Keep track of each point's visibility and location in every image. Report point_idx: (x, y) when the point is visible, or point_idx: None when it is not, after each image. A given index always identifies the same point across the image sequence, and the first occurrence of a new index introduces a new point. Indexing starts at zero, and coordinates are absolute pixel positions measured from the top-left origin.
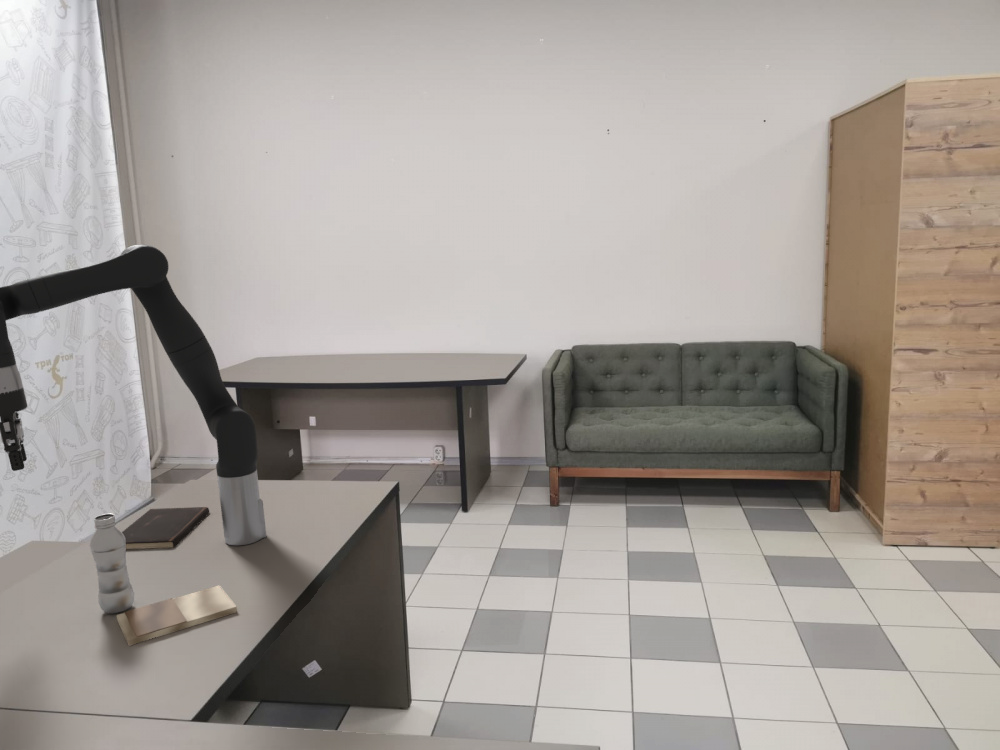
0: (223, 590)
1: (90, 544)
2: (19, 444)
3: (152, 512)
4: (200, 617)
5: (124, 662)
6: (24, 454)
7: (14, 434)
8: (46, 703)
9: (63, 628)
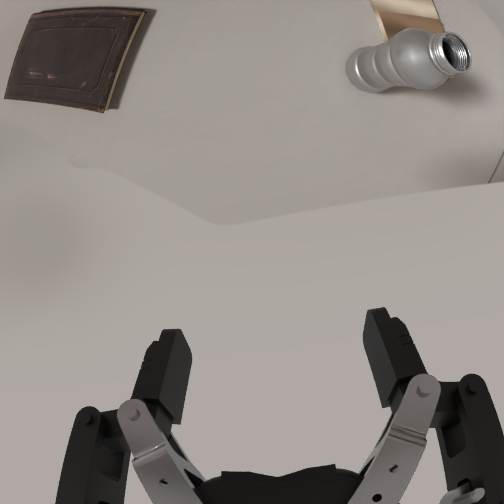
0: None
1: (432, 88)
2: (433, 406)
3: (15, 88)
4: (433, 6)
5: (473, 89)
6: (173, 352)
7: (501, 447)
8: (495, 156)
9: (384, 138)
